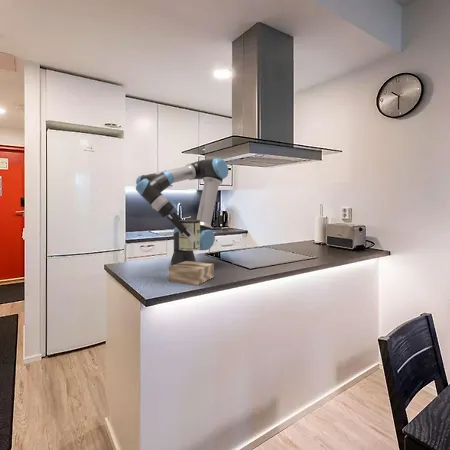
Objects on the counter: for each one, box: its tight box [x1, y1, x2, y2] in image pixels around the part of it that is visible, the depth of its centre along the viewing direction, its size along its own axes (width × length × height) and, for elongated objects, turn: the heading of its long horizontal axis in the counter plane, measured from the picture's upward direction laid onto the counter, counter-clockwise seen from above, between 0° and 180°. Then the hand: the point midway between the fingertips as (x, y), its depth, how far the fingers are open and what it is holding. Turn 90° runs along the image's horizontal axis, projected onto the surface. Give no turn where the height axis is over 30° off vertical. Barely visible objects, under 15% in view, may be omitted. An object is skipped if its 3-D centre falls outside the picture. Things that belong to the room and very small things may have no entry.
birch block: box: [168, 261, 215, 286], centre depth 150 cm, size 16×16×7 cm
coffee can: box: [179, 219, 200, 252], centre depth 148 cm, size 10×10×14 cm
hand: (195, 239), depth 148 cm, fingers closed on coffee can, 10 cm apart
